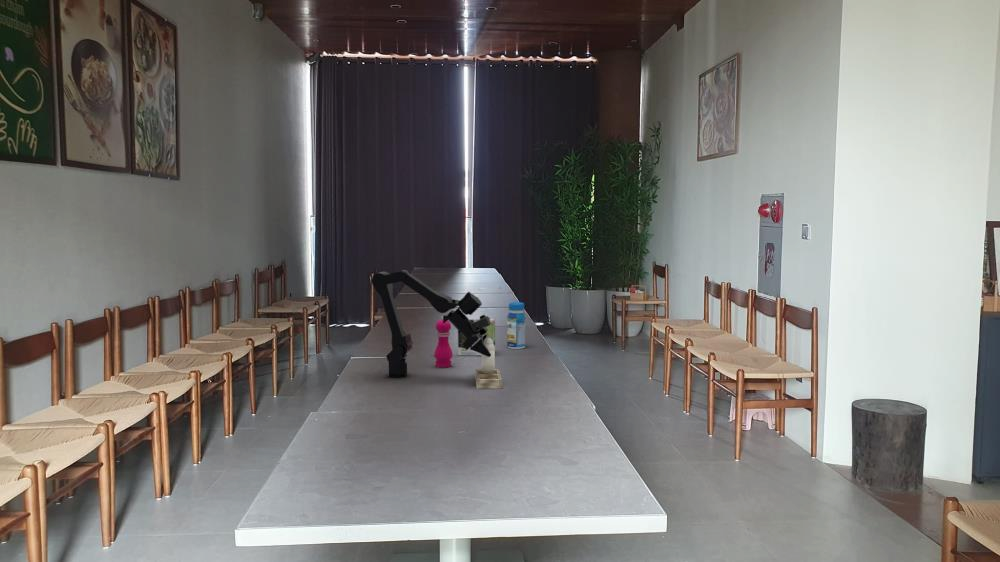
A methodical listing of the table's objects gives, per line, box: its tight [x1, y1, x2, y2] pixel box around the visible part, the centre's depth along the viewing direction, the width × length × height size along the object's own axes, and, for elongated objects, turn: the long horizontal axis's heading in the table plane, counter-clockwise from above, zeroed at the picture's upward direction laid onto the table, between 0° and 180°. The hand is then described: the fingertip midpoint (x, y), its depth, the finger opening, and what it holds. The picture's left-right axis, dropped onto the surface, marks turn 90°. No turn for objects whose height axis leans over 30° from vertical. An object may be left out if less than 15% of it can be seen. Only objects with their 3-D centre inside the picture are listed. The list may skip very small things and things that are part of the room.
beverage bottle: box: [506, 301, 527, 350], centre depth 335 cm, size 8×8×20 cm
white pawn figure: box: [480, 337, 496, 374], centre depth 274 cm, size 5×5×13 cm
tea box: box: [457, 318, 496, 357], centre depth 321 cm, size 15×10×15 cm, turn 84°
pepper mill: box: [433, 315, 453, 368], centre depth 297 cm, size 7×7×20 cm
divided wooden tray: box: [474, 368, 504, 390], centre depth 271 cm, size 9×17×3 cm, turn 4°
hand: (491, 354), depth 274 cm, fingers closed on white pawn figure, 5 cm apart
